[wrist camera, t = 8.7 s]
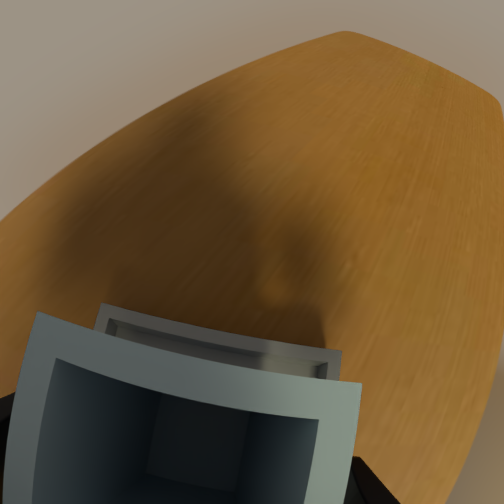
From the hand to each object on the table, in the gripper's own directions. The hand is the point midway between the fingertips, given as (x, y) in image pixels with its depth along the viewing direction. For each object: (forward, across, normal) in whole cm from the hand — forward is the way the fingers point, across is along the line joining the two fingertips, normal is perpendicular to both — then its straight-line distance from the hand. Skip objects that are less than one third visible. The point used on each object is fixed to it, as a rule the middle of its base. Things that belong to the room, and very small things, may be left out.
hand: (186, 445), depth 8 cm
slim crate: (+5, 0, +7) cm, 9 cm away
